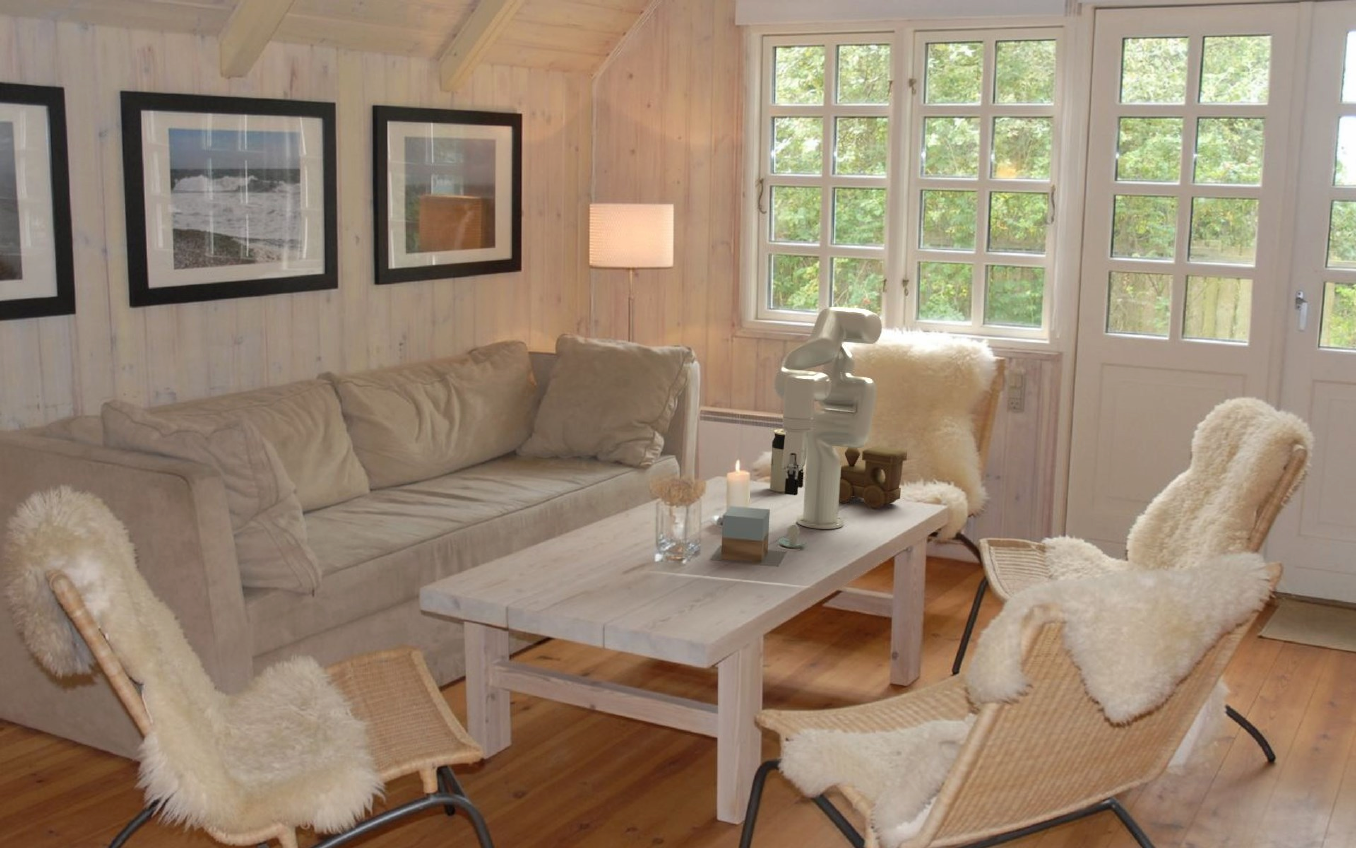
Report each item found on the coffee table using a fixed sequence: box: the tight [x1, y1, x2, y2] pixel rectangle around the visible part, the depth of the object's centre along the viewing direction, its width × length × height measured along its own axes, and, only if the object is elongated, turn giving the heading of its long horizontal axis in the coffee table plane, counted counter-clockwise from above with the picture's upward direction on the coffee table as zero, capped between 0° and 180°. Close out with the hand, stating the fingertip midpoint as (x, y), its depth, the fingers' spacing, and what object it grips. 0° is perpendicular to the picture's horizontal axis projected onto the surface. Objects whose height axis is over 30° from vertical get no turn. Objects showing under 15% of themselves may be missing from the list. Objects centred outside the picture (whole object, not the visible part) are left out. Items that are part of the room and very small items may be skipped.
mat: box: [709, 544, 787, 568], centre depth 348 cm, size 14×17×1 cm
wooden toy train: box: [839, 446, 908, 510], centre depth 408 cm, size 20×11×17 cm, turn 55°
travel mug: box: [769, 428, 787, 494], centre depth 421 cm, size 8×8×18 cm
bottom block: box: [721, 530, 770, 563], centre depth 347 cm, size 10×10×6 cm
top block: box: [721, 505, 771, 541], centre depth 346 cm, size 10×10×6 cm
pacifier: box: [777, 524, 808, 552], centre depth 357 cm, size 7×6×6 cm
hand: (793, 490), depth 354 cm, fingers open, 9 cm apart
